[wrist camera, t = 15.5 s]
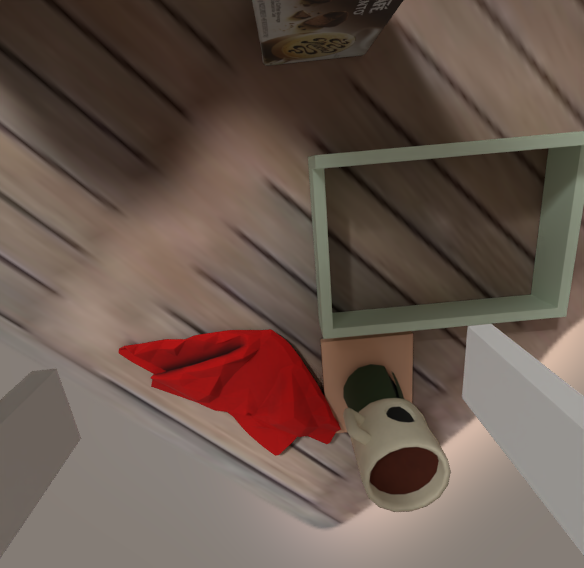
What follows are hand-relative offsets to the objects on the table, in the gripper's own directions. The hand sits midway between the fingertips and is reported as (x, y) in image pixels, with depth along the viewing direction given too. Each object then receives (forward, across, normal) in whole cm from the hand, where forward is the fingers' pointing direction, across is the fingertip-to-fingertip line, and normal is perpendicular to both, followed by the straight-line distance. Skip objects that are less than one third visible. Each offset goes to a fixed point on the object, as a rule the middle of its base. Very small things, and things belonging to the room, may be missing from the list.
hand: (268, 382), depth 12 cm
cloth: (+26, -5, -16) cm, 31 cm away
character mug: (+25, +9, -19) cm, 32 cm away
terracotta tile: (+26, +9, -19) cm, 33 cm away
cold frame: (+26, +16, -2) cm, 31 cm away
